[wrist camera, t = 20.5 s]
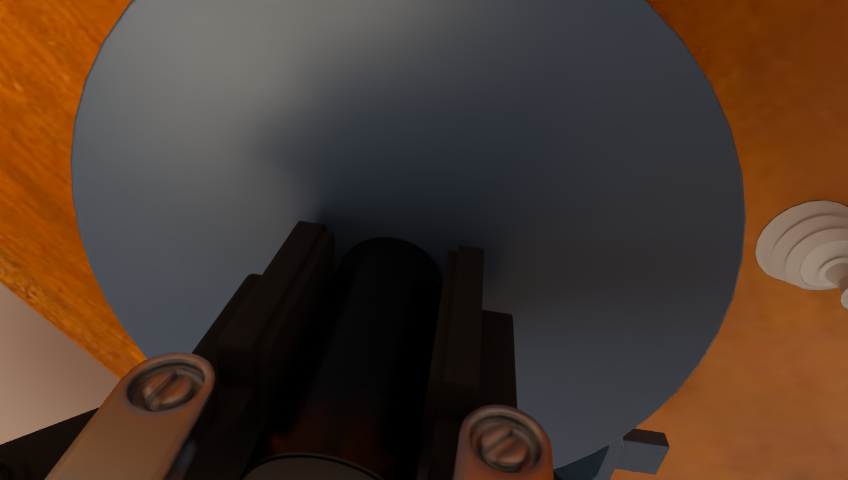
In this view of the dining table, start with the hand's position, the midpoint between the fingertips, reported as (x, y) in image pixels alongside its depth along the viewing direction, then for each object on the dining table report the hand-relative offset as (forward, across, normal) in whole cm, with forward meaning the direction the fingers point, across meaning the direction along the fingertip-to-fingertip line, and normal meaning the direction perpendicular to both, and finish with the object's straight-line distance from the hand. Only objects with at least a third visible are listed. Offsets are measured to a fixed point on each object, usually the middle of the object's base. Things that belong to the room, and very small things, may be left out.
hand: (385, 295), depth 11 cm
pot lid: (+1, 0, 0) cm, 1 cm away
